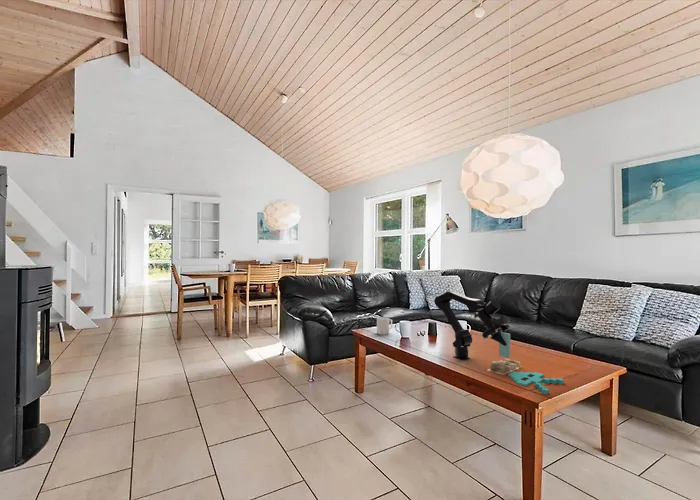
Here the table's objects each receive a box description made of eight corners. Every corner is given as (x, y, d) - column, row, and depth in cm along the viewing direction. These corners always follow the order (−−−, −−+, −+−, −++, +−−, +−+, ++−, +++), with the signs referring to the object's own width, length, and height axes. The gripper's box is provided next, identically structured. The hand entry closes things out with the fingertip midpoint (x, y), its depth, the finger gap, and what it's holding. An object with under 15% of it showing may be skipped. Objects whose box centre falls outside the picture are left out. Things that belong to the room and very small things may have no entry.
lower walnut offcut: (490, 369, 187) (490, 365, 187) (494, 368, 189) (494, 364, 189) (503, 373, 181) (503, 369, 181) (507, 371, 184) (507, 367, 184)
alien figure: (563, 384, 172) (520, 372, 187) (563, 379, 172) (520, 368, 187) (546, 395, 159) (501, 382, 174) (546, 390, 159) (501, 377, 174)
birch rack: (486, 371, 186) (486, 365, 186) (504, 364, 198) (504, 358, 198) (503, 376, 179) (503, 369, 179) (521, 369, 191) (521, 362, 191)
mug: (380, 335, 258) (380, 320, 258) (374, 333, 266) (374, 317, 266) (395, 334, 264) (395, 318, 264) (388, 331, 272) (388, 316, 272)
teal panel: (498, 355, 190) (499, 332, 190) (500, 355, 191) (501, 331, 191) (508, 358, 186) (508, 334, 186) (510, 357, 187) (510, 333, 187)
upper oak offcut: (491, 366, 186) (491, 362, 186) (494, 364, 189) (494, 360, 189) (503, 369, 182) (503, 365, 182) (506, 367, 185) (506, 363, 185)
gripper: (488, 312, 185) (509, 339, 177) (506, 308, 197) (527, 333, 189) (473, 325, 191) (493, 351, 183) (492, 321, 203) (512, 345, 195)
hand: (507, 345), depth 187 cm, fingers closed on teal panel, 2 cm apart
